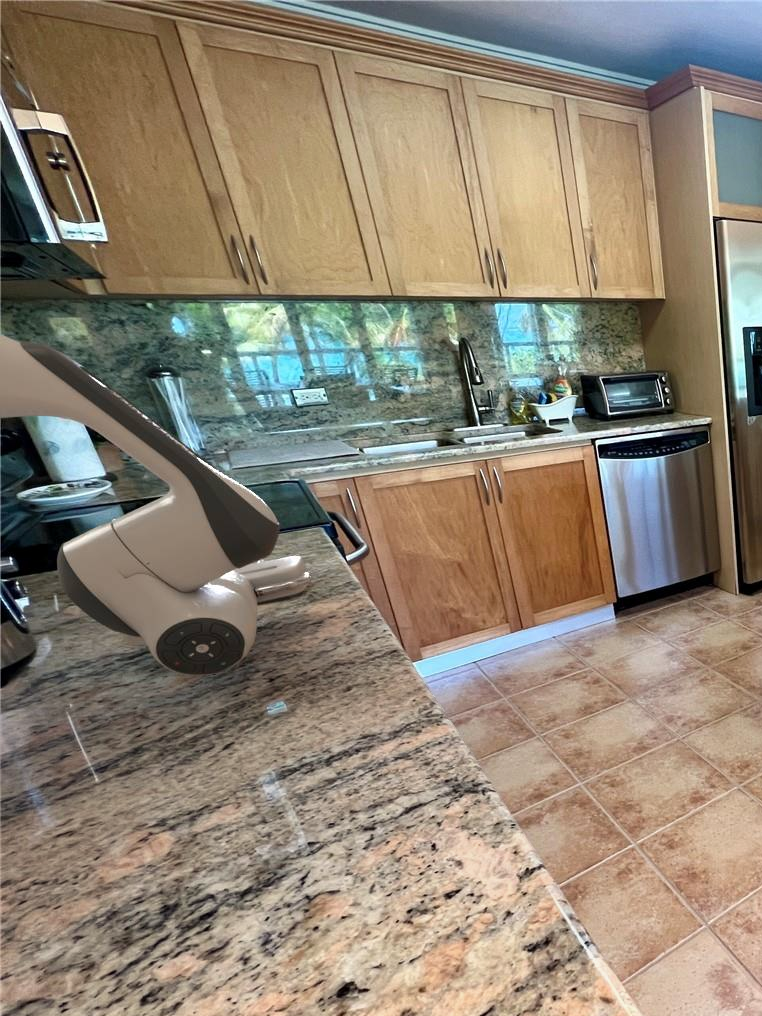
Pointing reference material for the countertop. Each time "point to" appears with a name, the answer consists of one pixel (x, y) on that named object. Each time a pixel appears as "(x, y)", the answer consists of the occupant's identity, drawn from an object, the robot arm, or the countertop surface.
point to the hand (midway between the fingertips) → (216, 573)
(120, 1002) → the countertop surface
